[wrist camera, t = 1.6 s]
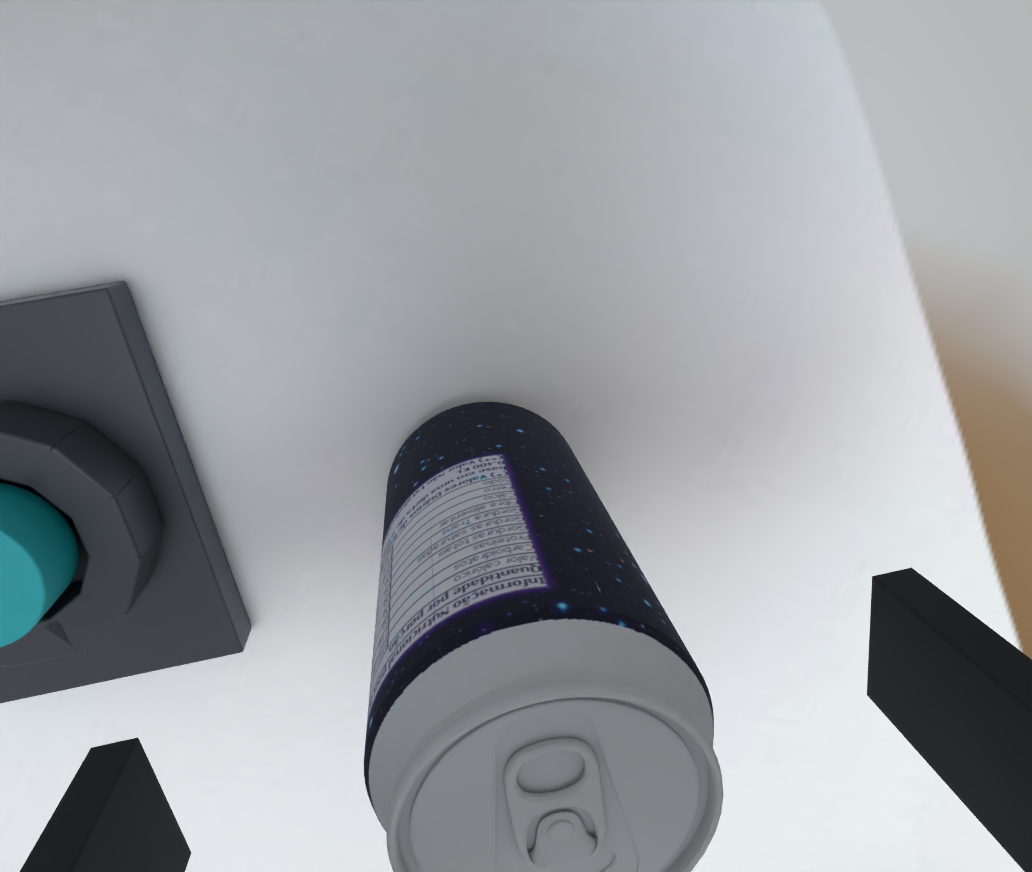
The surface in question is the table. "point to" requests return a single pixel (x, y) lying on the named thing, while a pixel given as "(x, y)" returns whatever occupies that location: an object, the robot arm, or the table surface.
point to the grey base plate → (108, 498)
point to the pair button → (31, 560)
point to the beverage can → (526, 669)
